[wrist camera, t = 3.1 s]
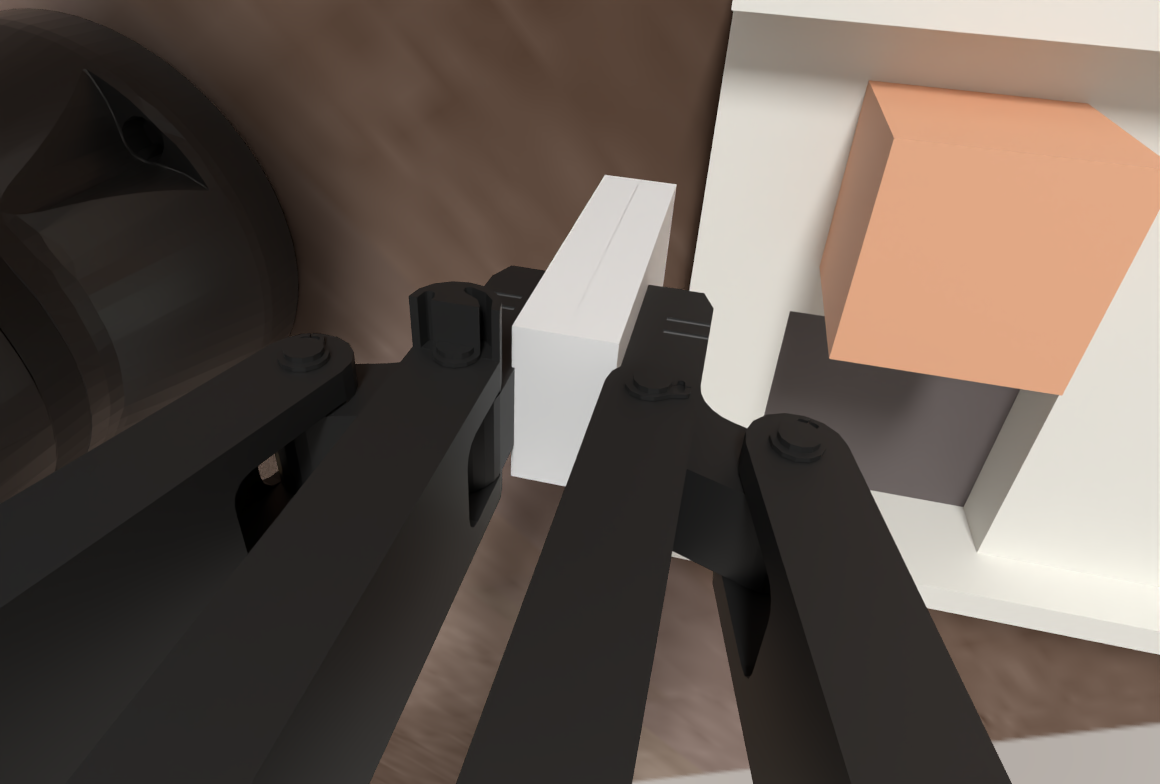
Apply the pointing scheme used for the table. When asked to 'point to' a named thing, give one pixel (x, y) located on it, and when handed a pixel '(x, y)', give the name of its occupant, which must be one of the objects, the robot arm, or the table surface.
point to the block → (982, 234)
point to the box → (927, 402)
